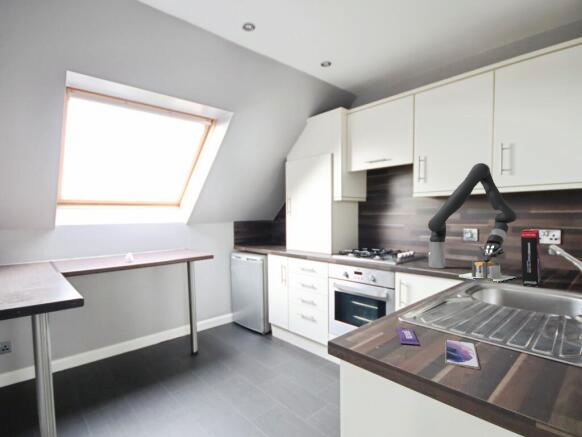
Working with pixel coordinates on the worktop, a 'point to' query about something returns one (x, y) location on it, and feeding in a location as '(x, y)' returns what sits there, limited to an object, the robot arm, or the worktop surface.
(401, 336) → the snack package
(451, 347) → the smartphone
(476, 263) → the retention strap
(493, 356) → the worktop surface
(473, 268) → the heatsink board
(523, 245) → the graphics card box
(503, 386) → the worktop surface
